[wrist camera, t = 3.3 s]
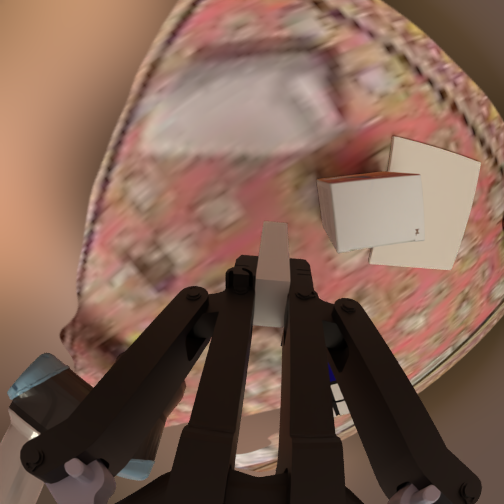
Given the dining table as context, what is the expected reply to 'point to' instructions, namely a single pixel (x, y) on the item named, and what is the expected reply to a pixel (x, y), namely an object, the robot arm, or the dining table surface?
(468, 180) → the mat
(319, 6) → the dining table surface
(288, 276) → the robot arm
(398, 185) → the small box
